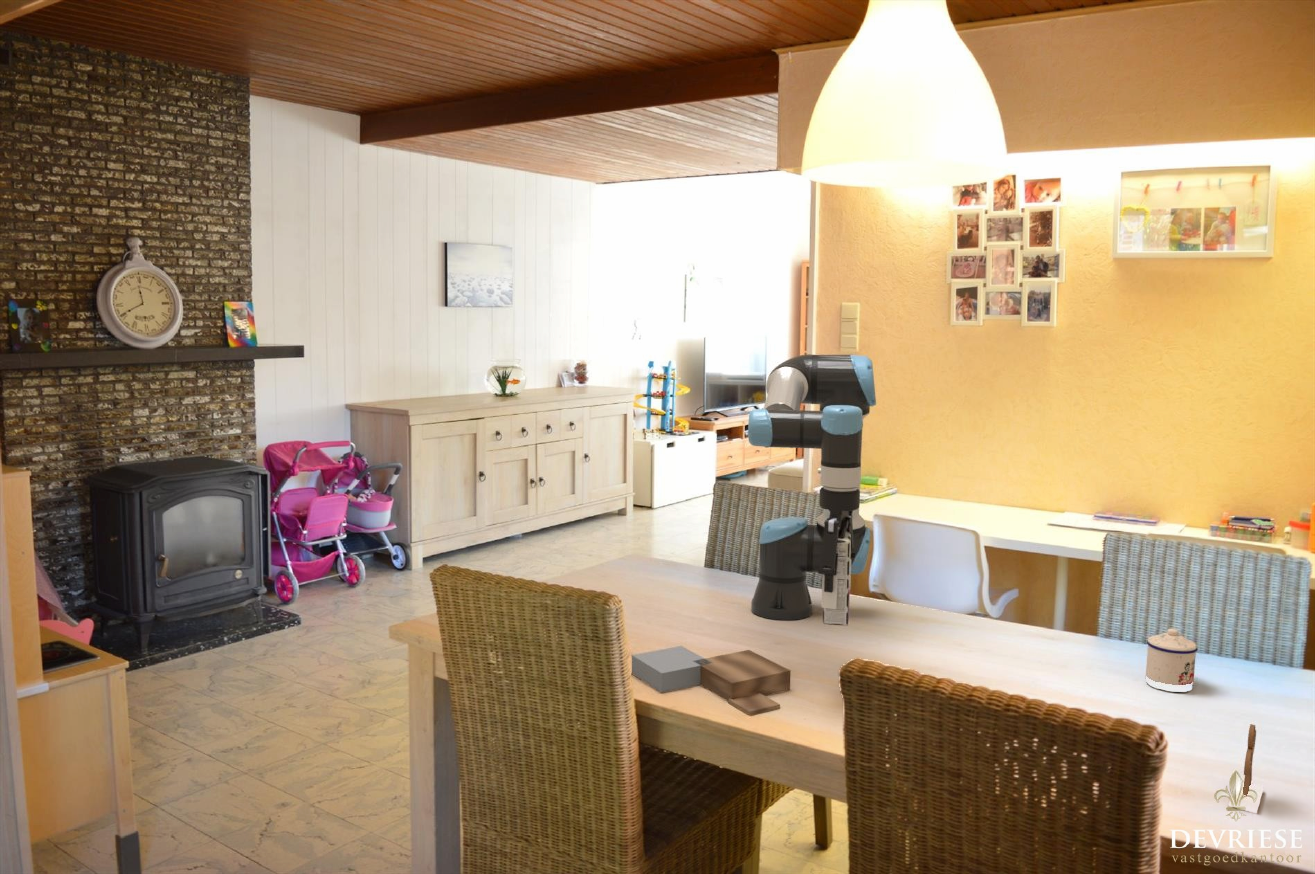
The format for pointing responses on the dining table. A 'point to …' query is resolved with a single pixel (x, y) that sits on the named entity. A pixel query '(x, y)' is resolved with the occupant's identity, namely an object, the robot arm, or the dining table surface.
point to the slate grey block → (668, 668)
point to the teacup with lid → (1171, 658)
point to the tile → (754, 704)
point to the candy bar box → (841, 585)
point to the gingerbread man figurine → (1249, 759)
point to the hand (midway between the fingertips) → (836, 599)
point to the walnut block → (743, 675)
